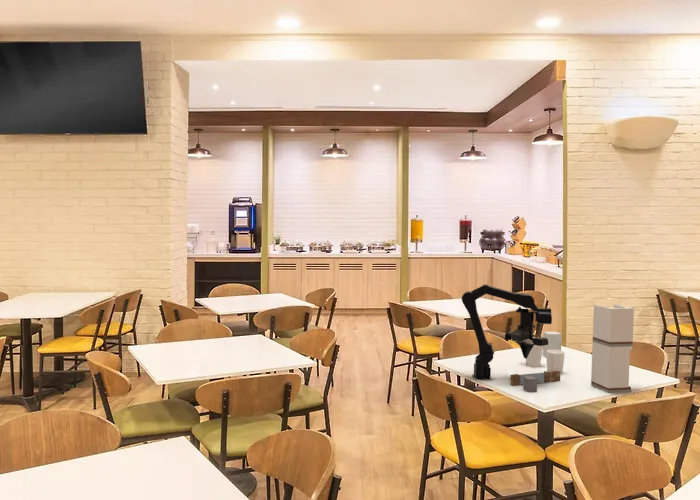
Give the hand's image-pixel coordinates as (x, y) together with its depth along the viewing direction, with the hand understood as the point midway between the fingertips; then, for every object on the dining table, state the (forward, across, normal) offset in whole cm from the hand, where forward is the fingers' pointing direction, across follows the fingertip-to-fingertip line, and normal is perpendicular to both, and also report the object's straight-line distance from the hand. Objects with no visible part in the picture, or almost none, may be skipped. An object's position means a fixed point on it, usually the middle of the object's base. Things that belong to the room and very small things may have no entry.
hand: (525, 358), depth 252 cm
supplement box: (+10, -20, +54) cm, 58 cm away
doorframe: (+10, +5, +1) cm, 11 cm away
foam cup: (+10, -14, +28) cm, 33 cm away
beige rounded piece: (+10, 0, +24) cm, 27 cm away
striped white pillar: (+10, +28, +20) cm, 36 cm away
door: (+10, +5, -1) cm, 11 cm away
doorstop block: (+10, +10, -11) cm, 18 cm away
